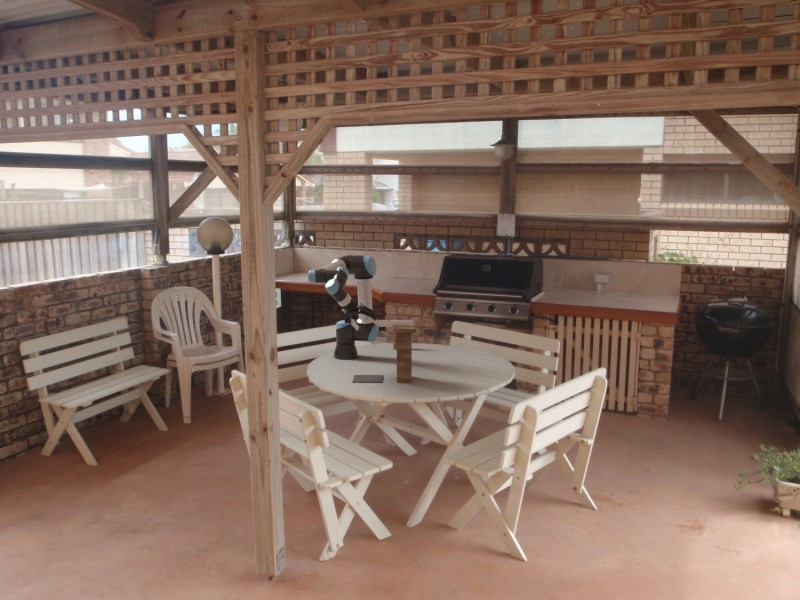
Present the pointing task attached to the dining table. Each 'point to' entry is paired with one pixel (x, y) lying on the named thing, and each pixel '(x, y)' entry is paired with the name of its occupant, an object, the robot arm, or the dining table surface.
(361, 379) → the rubber mat
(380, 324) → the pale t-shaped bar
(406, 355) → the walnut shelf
